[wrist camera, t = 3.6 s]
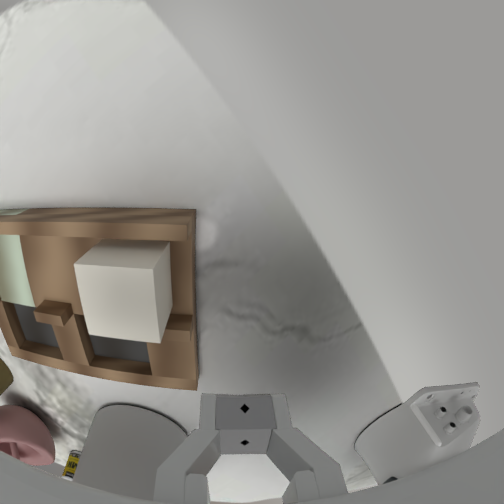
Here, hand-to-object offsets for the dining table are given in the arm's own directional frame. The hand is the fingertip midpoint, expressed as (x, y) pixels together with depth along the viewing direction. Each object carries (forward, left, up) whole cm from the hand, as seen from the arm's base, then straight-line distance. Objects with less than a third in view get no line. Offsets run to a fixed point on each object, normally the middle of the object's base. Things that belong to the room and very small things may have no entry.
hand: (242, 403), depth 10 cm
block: (+7, 0, -11) cm, 13 cm away
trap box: (+15, +4, -13) cm, 20 cm away
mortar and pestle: (+31, +28, -14) cm, 44 cm away
